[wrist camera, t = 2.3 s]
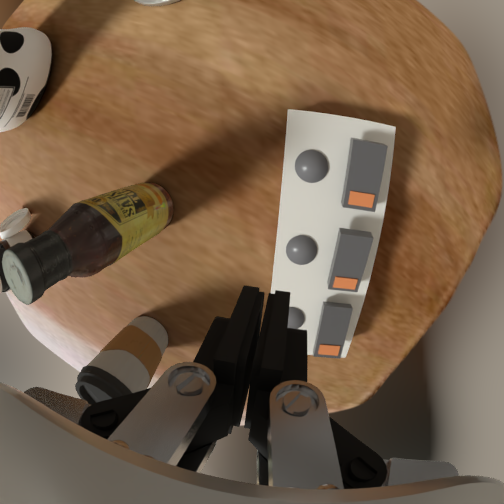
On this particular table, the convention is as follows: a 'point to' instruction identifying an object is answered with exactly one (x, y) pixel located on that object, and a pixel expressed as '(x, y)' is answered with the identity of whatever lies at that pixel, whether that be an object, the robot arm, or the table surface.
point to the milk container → (22, 73)
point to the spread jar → (13, 238)
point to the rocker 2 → (363, 174)
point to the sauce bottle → (87, 238)
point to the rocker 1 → (332, 329)
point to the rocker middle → (349, 259)
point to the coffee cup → (124, 362)
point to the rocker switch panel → (322, 214)
